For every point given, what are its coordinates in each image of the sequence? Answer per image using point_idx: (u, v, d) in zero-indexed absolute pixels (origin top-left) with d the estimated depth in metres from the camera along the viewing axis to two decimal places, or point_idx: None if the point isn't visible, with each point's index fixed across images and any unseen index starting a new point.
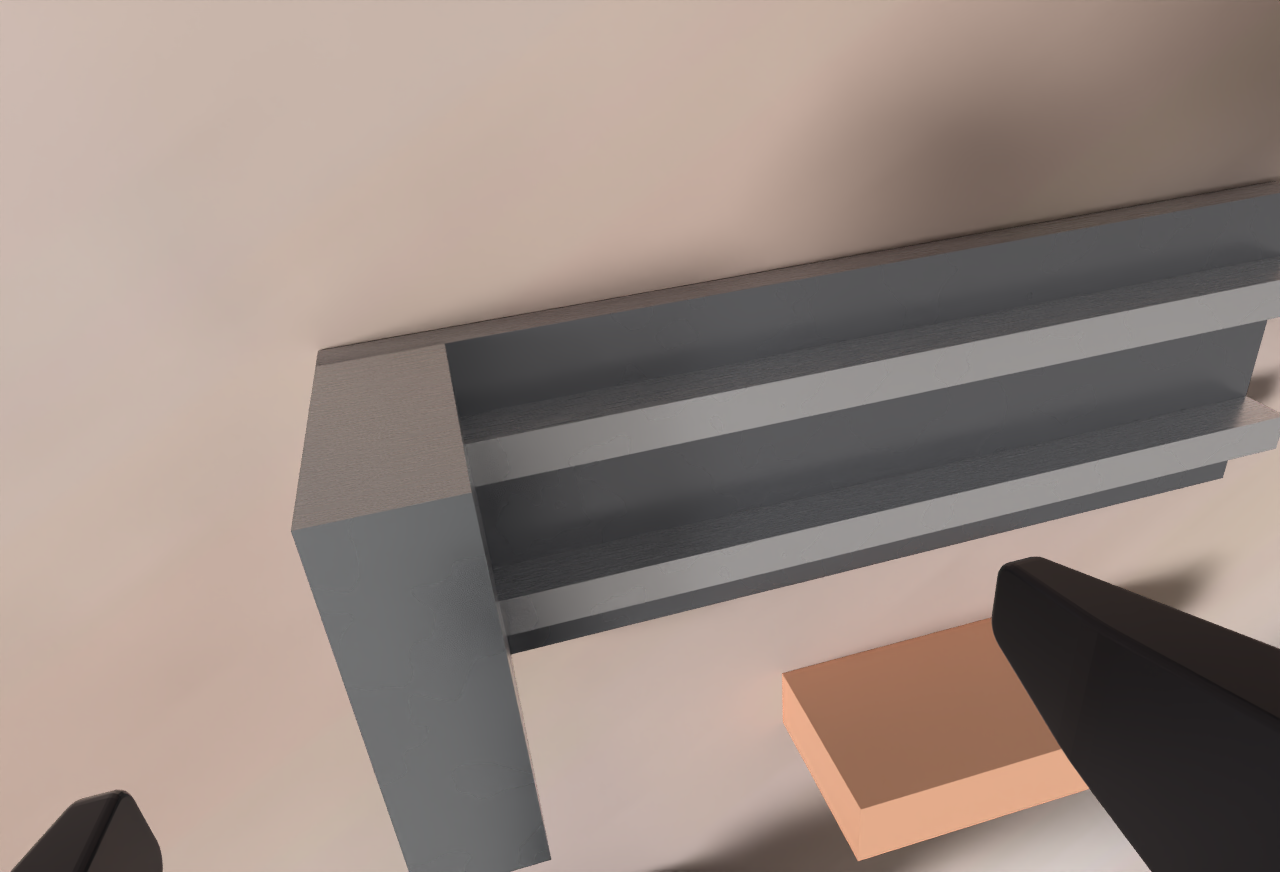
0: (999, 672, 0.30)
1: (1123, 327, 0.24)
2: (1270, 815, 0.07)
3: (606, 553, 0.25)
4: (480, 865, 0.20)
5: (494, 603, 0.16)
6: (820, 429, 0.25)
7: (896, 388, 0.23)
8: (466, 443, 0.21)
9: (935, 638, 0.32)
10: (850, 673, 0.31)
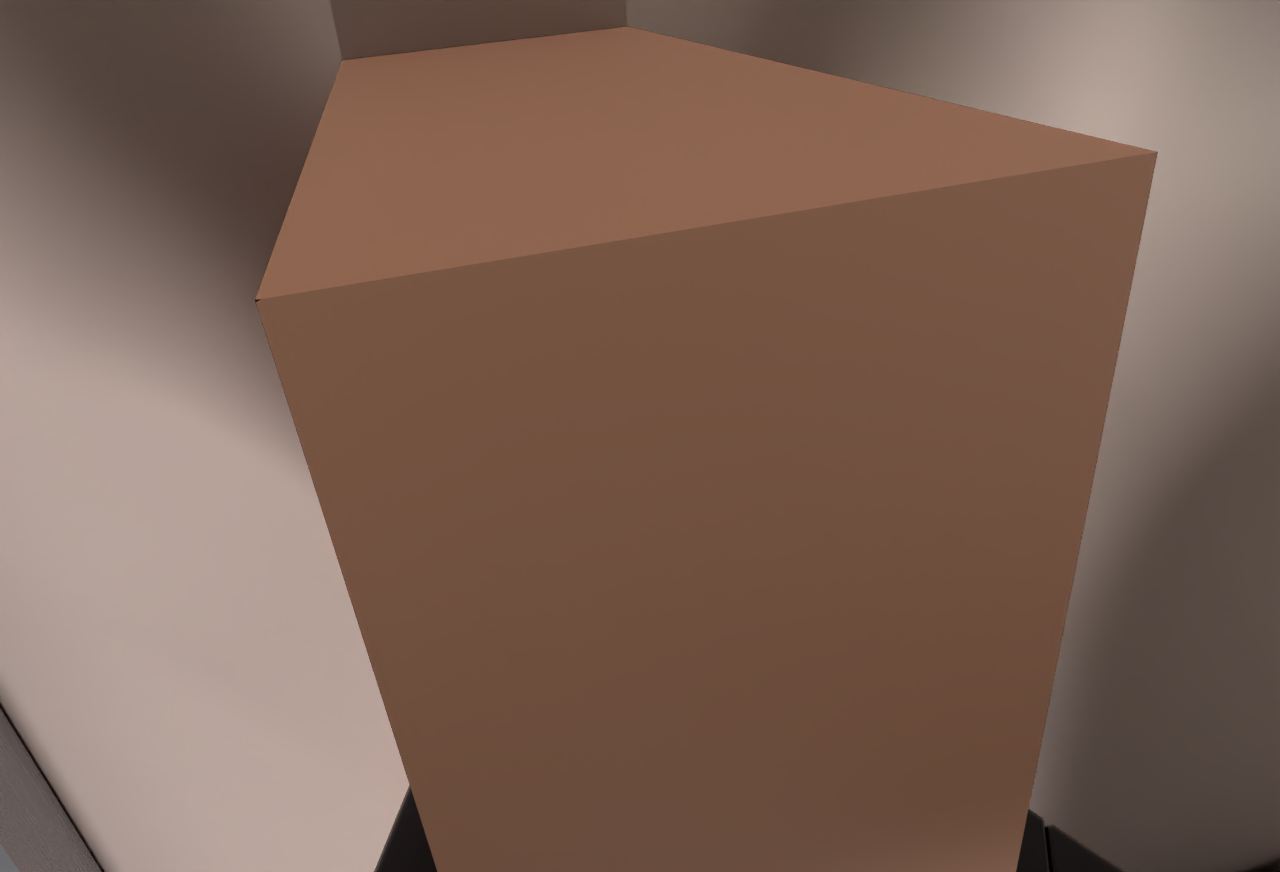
0: None
1: None
2: None
3: None
4: None
5: None
6: None
7: None
8: None
9: None
10: None
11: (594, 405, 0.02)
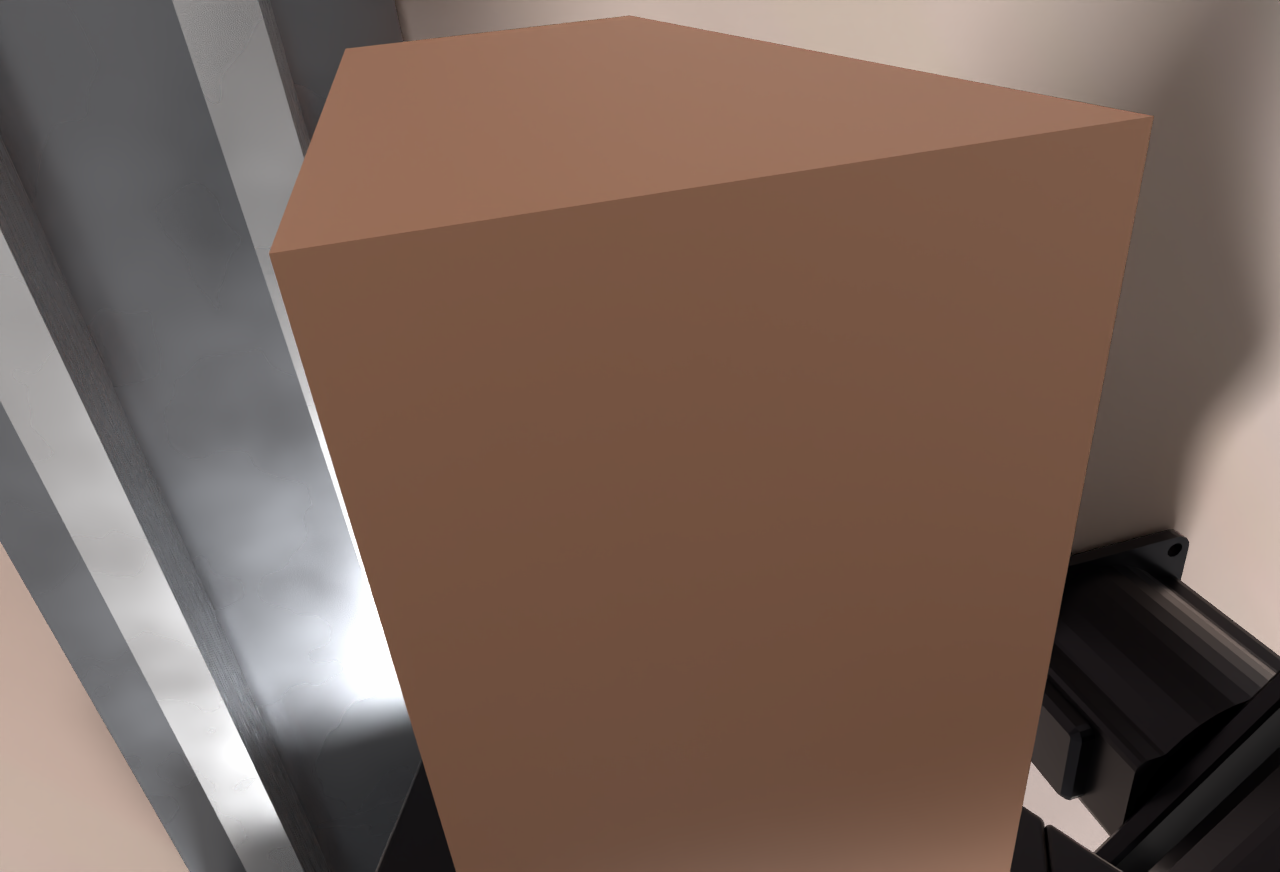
0: None
1: None
2: None
3: None
4: None
5: None
6: (282, 605, 0.20)
7: (166, 614, 0.18)
8: None
9: None
10: None
11: (603, 366, 0.02)
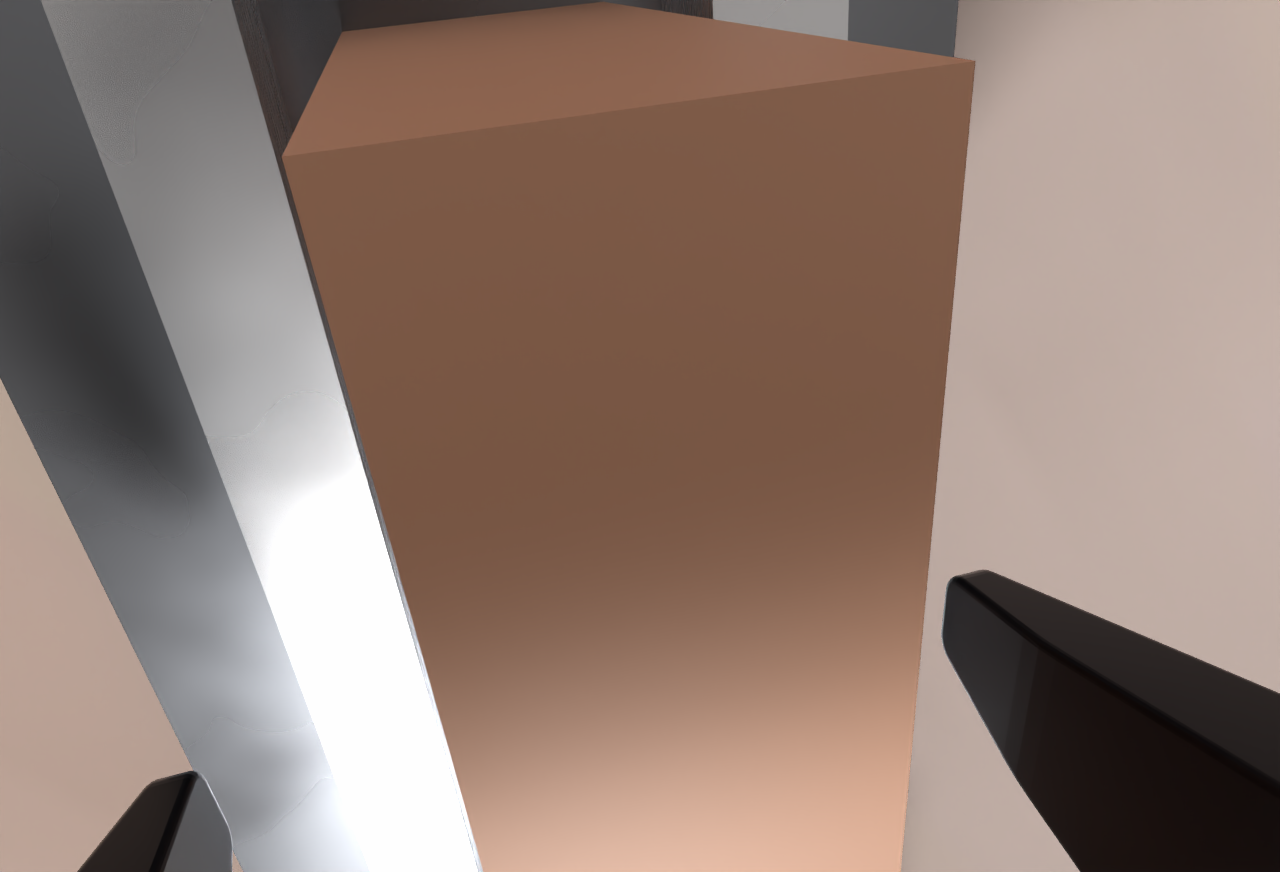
0: None
1: (266, 431, 0.08)
2: (1202, 838, 0.07)
3: None
4: None
5: None
6: None
7: None
8: None
9: None
10: None
11: (539, 255, 0.03)
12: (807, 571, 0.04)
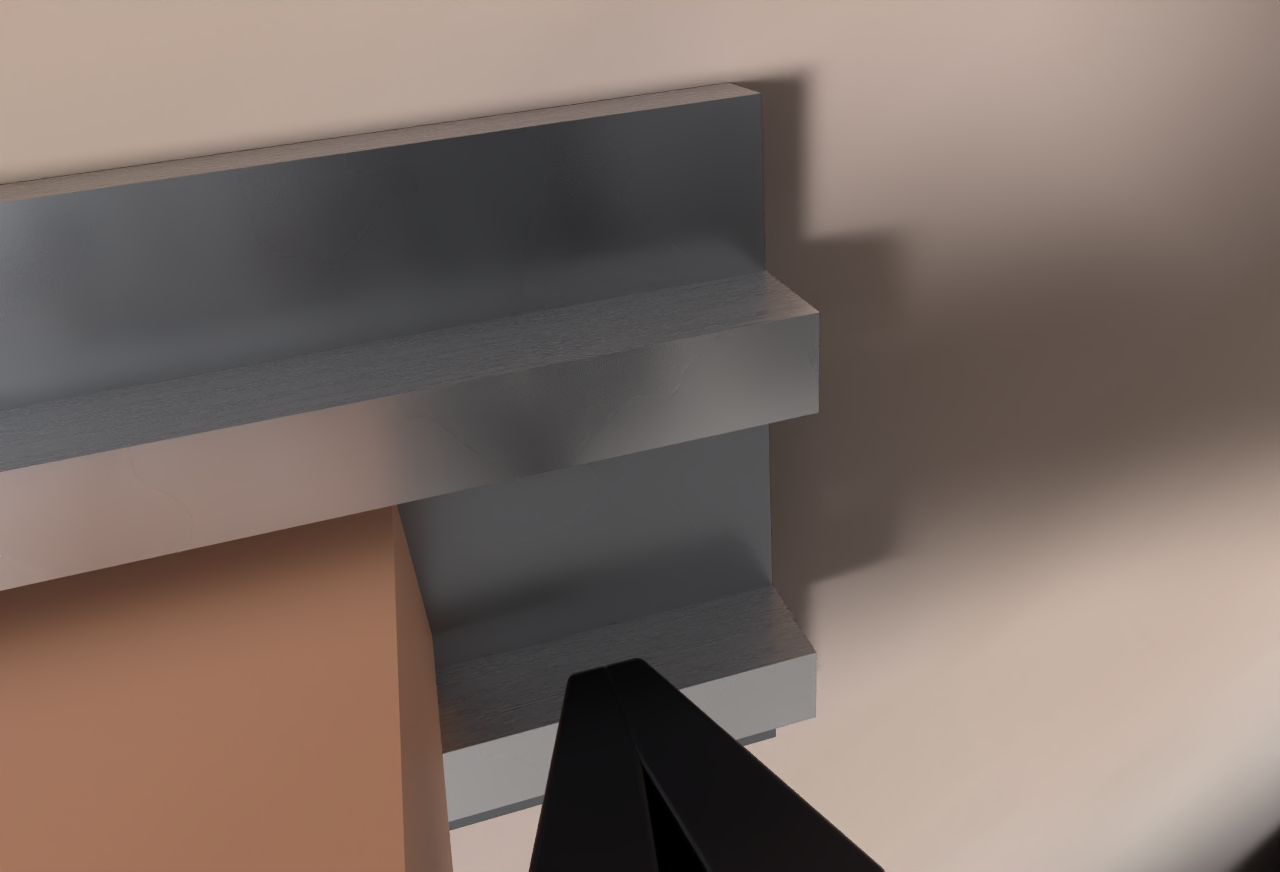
0: None
1: (142, 493, 0.08)
2: None
3: None
4: None
5: None
6: None
7: None
8: None
9: None
10: None
11: None
12: None
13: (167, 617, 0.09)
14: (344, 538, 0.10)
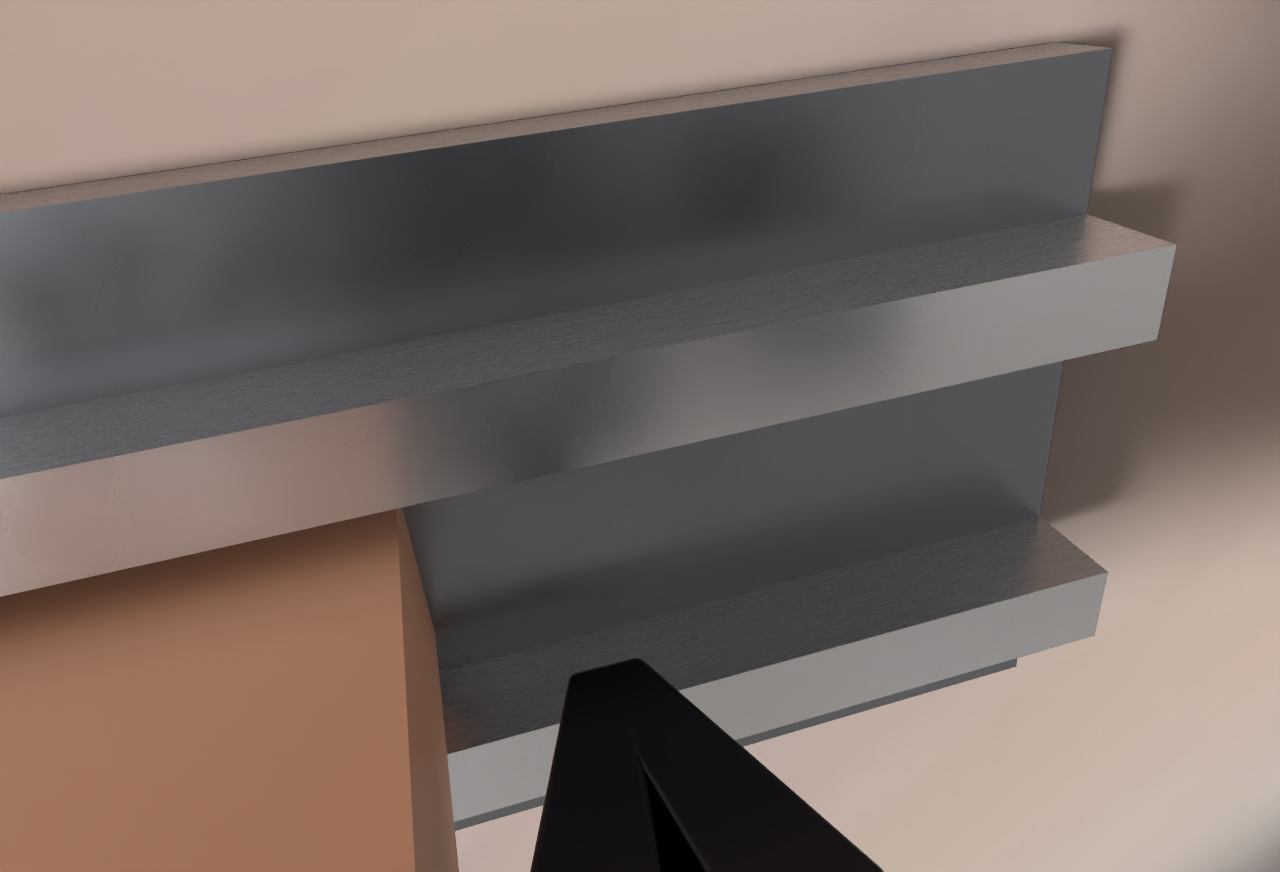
0: None
1: (611, 401, 0.09)
2: None
3: None
4: None
5: None
6: None
7: None
8: None
9: None
10: None
11: None
12: None
13: (173, 611, 0.09)
14: (349, 533, 0.10)
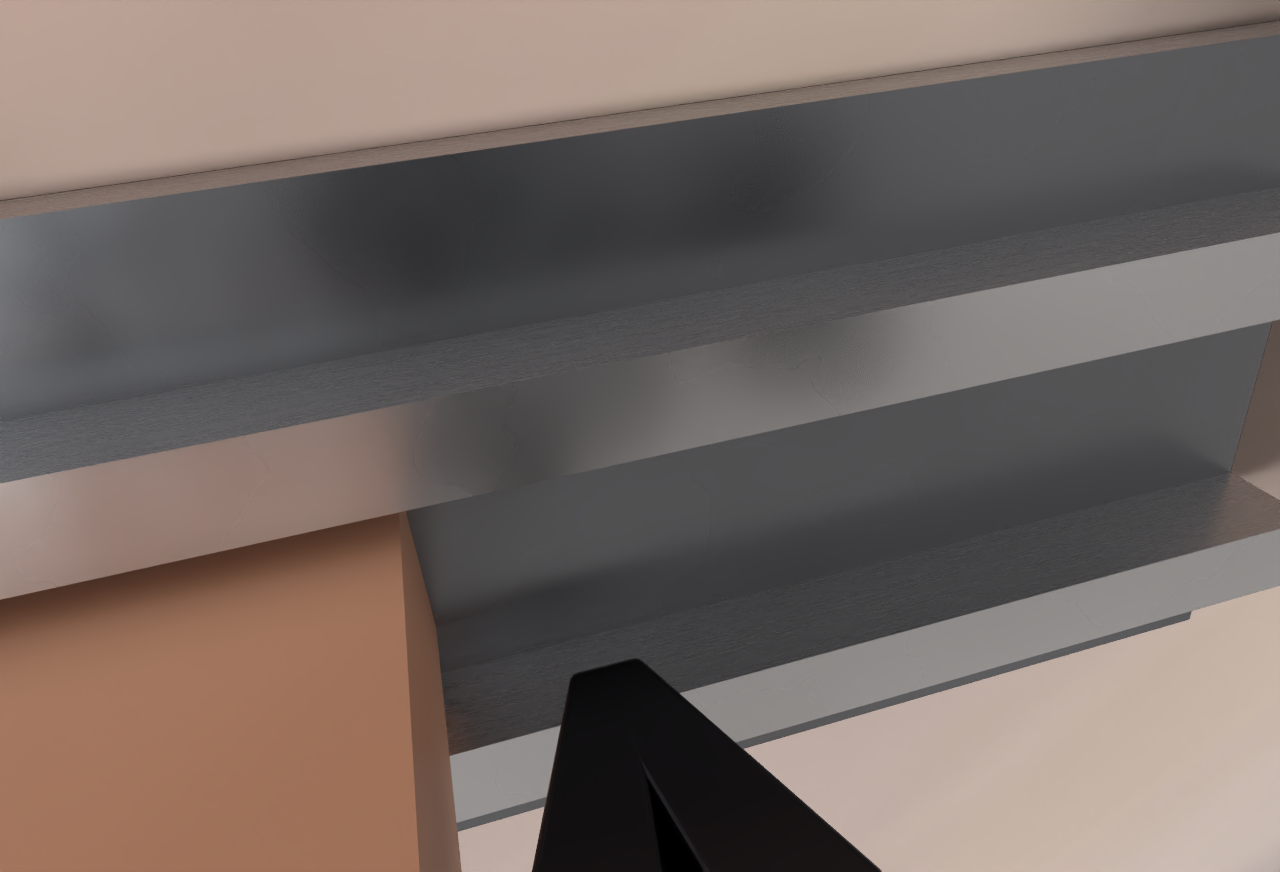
0: None
1: (927, 341, 0.10)
2: None
3: None
4: None
5: None
6: None
7: (311, 506, 0.09)
8: None
9: None
10: None
11: None
12: None
13: (177, 606, 0.09)
14: (351, 529, 0.10)
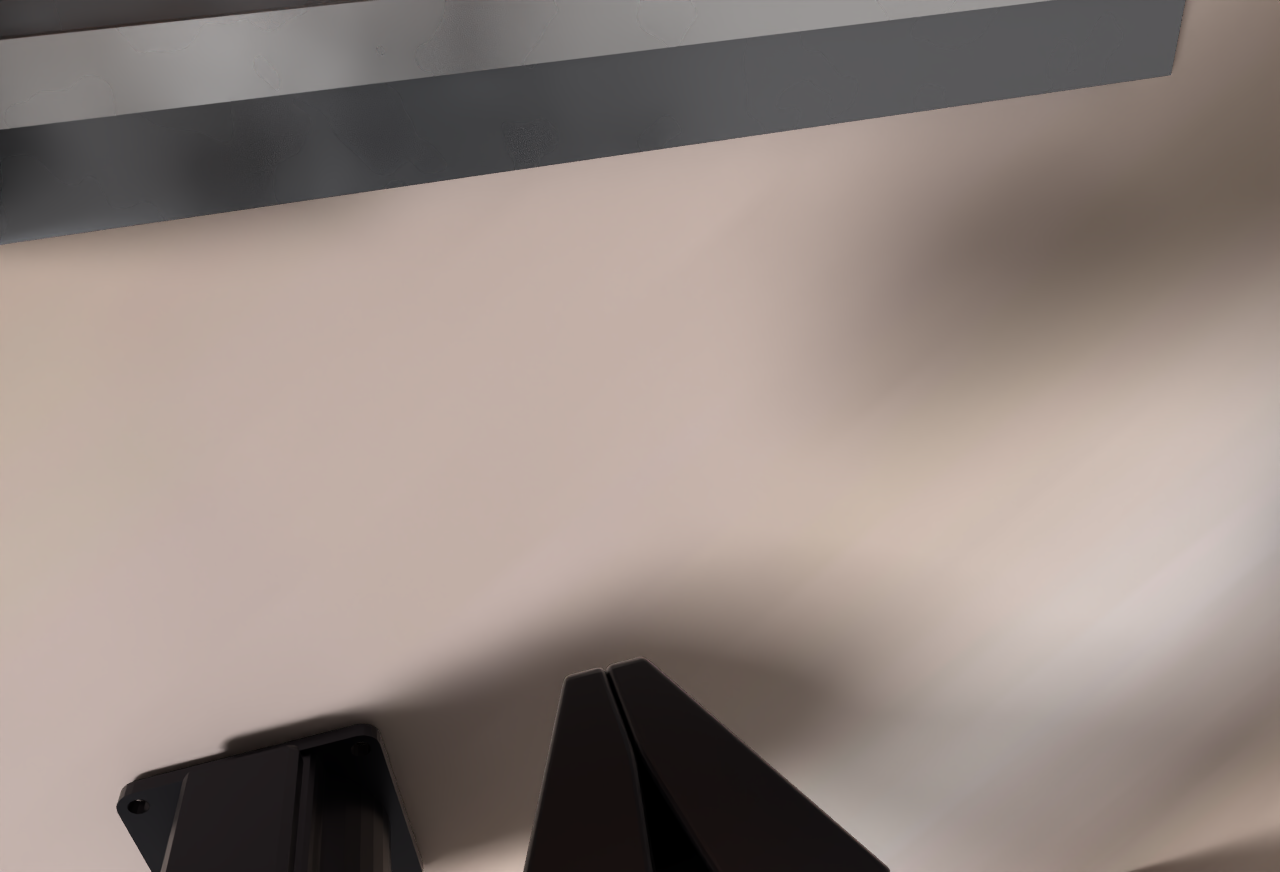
0: None
1: None
2: None
3: (51, 31, 0.14)
4: None
5: None
6: None
7: None
8: None
9: None
10: None
11: None
12: None
13: None
14: None
